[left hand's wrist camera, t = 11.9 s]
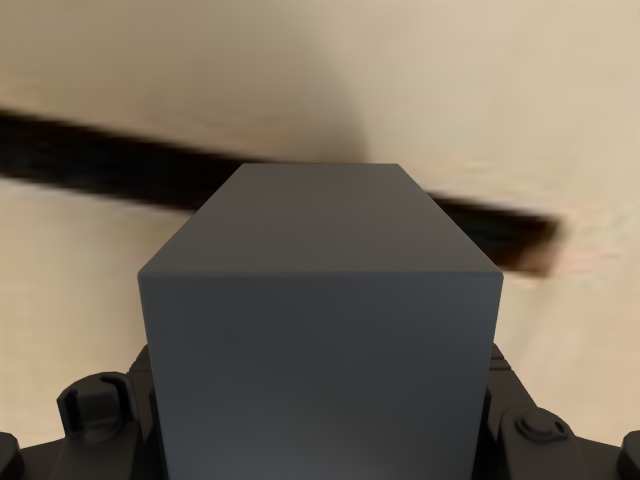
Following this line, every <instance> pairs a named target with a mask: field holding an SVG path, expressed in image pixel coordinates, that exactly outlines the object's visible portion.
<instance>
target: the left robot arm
mask: <svg viewBox="0 0 640 480" xmlns="http://www.w3.org/2000/svg"><path fill="white" fill-rule="evenodd" d="M57 404H58V408H59V412H60V416H61V420H62V424H63V428H64V431H65V438H62V439H59V440H56V441H52V442H48V443H44V444H40V445H35V446H31V447H27V448H23V449H20V447H19V444H18V441H17V439H16V438H15V437H14V436H13V435H12V434H11V433H5V432H0V480H169V477H168V470H167V464H166V458H165V451H164V445H163V438H162V432H161V425H160V419H159V413H158V406H157V400H156V393H155V387H154V381H153V374H152V368H151V361H150V355H149V348H148V344H147V345H145V346H144V348H143V349H142V351H141V352H140V354H139V355H138V357H137V358H136V361H134V363H133V364H132V366H131V367H130V369H129V372H127V373H126V374H123V373H119V372H101V373H97V374H93V375H89V376H87V377H85V378H82V379H80V380H78V381H76V382H74V383H73V384H71V385H70V386H69V387H67V388H66V389H65V390H63V392H62V393H61V394H60V396H59V397H58V398H57ZM471 480H640V430H638V431H632V432H630V433H628V434H627V435H626V436H625V437H624V439H623V442H622V445H621V447H617V446H613V445H608V444H604V443H600V442H595V441H591V440H587V439H584V438H581V437H577V436H575V435H574V433H573V432H572V430H571V428H570V427H569V425H568V424H567V423H565V422H564V421H563V420H562V419H561V418H559V417H558V416H557V415H555V414H553V413H551V412H549V411H547V410H545V409H543V408H539V407H537V406H536V404H535V403H534V401H533V400H532V398H531V397H530V395H529V394H528V392H527V391H526V389H525V388H524V386H523V385H522V383H521V382H520V380H519V379H518V377H517V376H516V374H515V373H514V371H513V370H511V367H510V365H509V364H508V362H507V361H506V360H504V356H503V355H502V353H501V352H500V350H499V349H498V347H497V346H496V344H494V343H493V347H492V353H491V359H490V365H489V372H488V378H487V384H486V390H485V397H484V403H483V409H482V415H481V422H480V428H479V434H478V440H477V447H476V453H475V459H474V465H473V472H472V478H471Z"/></svg>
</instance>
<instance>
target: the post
mask: <svg viewBox="0 0 640 480" xmlns="http://www.w3.org/2000/svg"><path fill="white" fill-rule="evenodd" d="M137 278H138V284H139V291H140V297H141V304H142V310H143V316H144V323H145V329H146V336H147V342H148V348H149V355H150V361H151V368H152V374H153V381H154V387H155V393H156V400H157V406H158V413H159V419H160V425H161V432H162V438H163V445H164V451H165V458H166V464H167V470H168V477H169V480H471V478H472V472H473V465H474V459H475V453H476V447H477V440H478V434H479V428H480V422H481V415H482V409H483V403H484V397H485V390H486V384H487V378H488V372H489V365H490V359H491V353H492V347H493V340H494V334H495V328H496V322H497V315H498V309H499V303H500V297H501V290H502V284H503V278H504V276H503V273H502V272H501V271H500V270H499V269H498V268H497V267H496V265H495V264H494V263H493V262H492V261H491V260H490V259H489V258H488V257H487V256H486V255H485V254H484V253H483V252H482V251H481V250H480V249H479V248H478V247H477V246H476V245H475V244H474V243H473V242H472V241H471V239H470V238H469V237H468V236H467V235H466V234H465V233H464V232H463V231H462V230H461V229H460V228H459V227H458V226H457V225H456V224H455V223H454V222H453V221H452V220H451V219H450V218H449V217H448V216H447V215H446V213H445V212H444V211H443V210H442V209H441V208H440V207H439V206H438V205H437V204H436V203H435V202H434V201H433V200H432V199H431V198H430V197H429V196H428V195H427V194H426V193H425V192H424V191H423V190H422V189H421V187H420V186H419V185H418V184H417V183H416V182H415V181H414V180H413V179H412V178H411V177H410V176H409V175H408V174H407V173H406V172H405V171H404V170H403V169H402V168H401V167H400V166H399V165H398V164H250V163H244V164H242V165H241V166H240V167H239V168H238V169H237V170H236V171H235V173H234V174H233V175H232V176H231V177H230V178H229V179H228V180H227V181H226V182H225V183H224V184H223V185H222V186H221V187H220V188H219V189H218V190H217V191H216V192H215V193H214V194H213V195H212V196H211V197H210V198H209V199H208V201H207V202H206V203H205V204H204V205H203V206H202V207H201V208H200V209H199V210H198V211H197V212H196V213H195V214H194V215H193V216H192V217H191V218H190V219H189V220H188V221H187V222H186V223H185V224H184V225H183V226H182V227H181V228H180V230H179V231H178V232H177V233H176V234H175V235H174V236H173V237H172V238H171V239H170V240H169V241H168V242H167V243H166V244H165V245H164V246H163V247H162V248H161V249H160V250H159V251H158V252H157V253H156V254H155V255H154V256H153V258H152V259H151V260H150V261H149V262H148V263H147V264H146V265H145V266H144V267H143V268H142V269H141V270H140V271H139V272H138V275H137Z"/></svg>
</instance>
